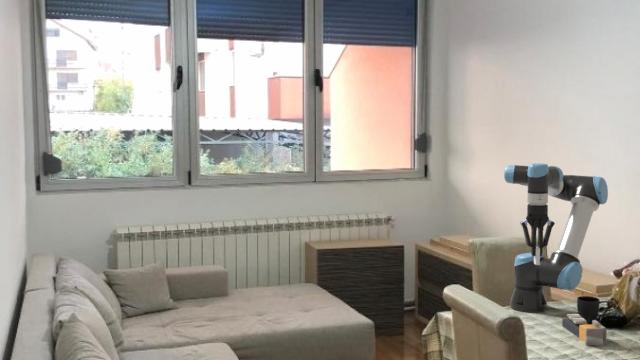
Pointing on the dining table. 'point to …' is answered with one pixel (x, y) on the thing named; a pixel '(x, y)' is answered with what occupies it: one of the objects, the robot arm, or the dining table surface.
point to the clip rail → (591, 331)
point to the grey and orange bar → (576, 328)
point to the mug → (590, 308)
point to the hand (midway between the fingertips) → (536, 264)
